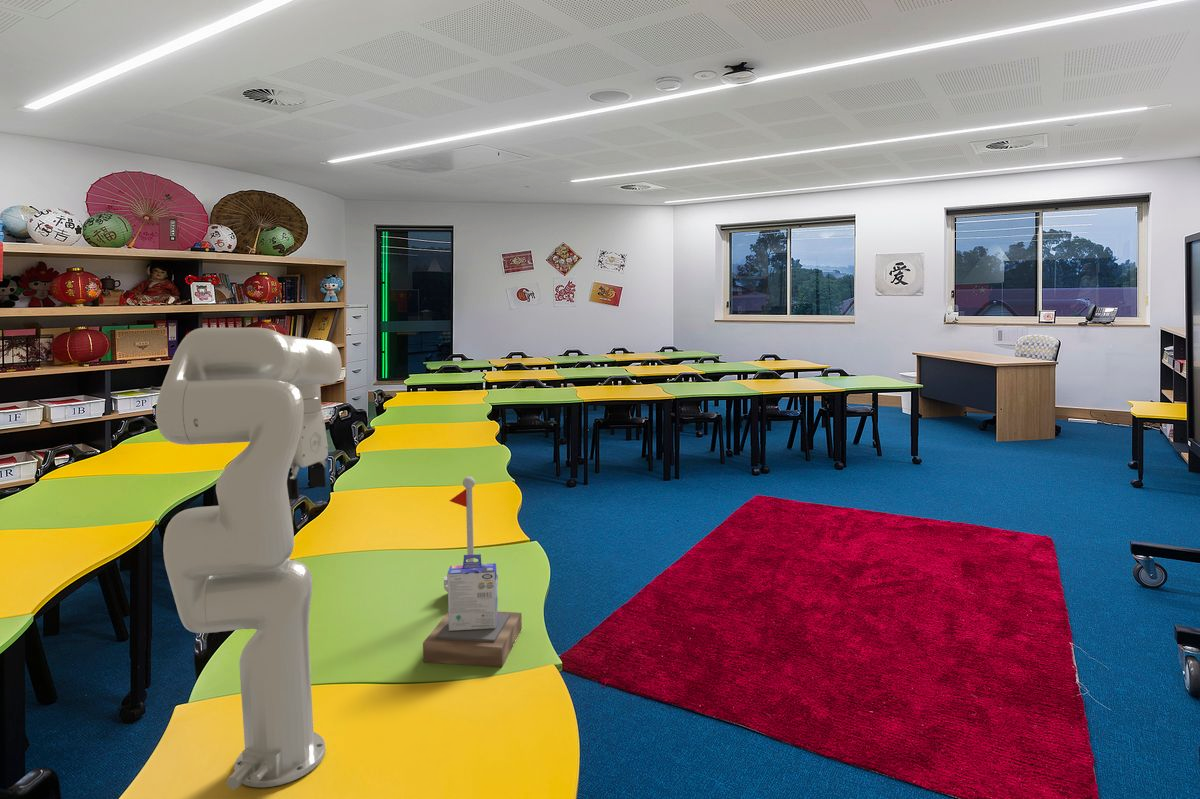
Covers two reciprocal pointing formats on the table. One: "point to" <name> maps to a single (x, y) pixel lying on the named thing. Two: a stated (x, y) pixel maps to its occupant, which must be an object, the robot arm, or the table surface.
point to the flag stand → (466, 501)
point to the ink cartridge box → (472, 595)
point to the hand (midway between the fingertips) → (304, 492)
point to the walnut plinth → (473, 642)
